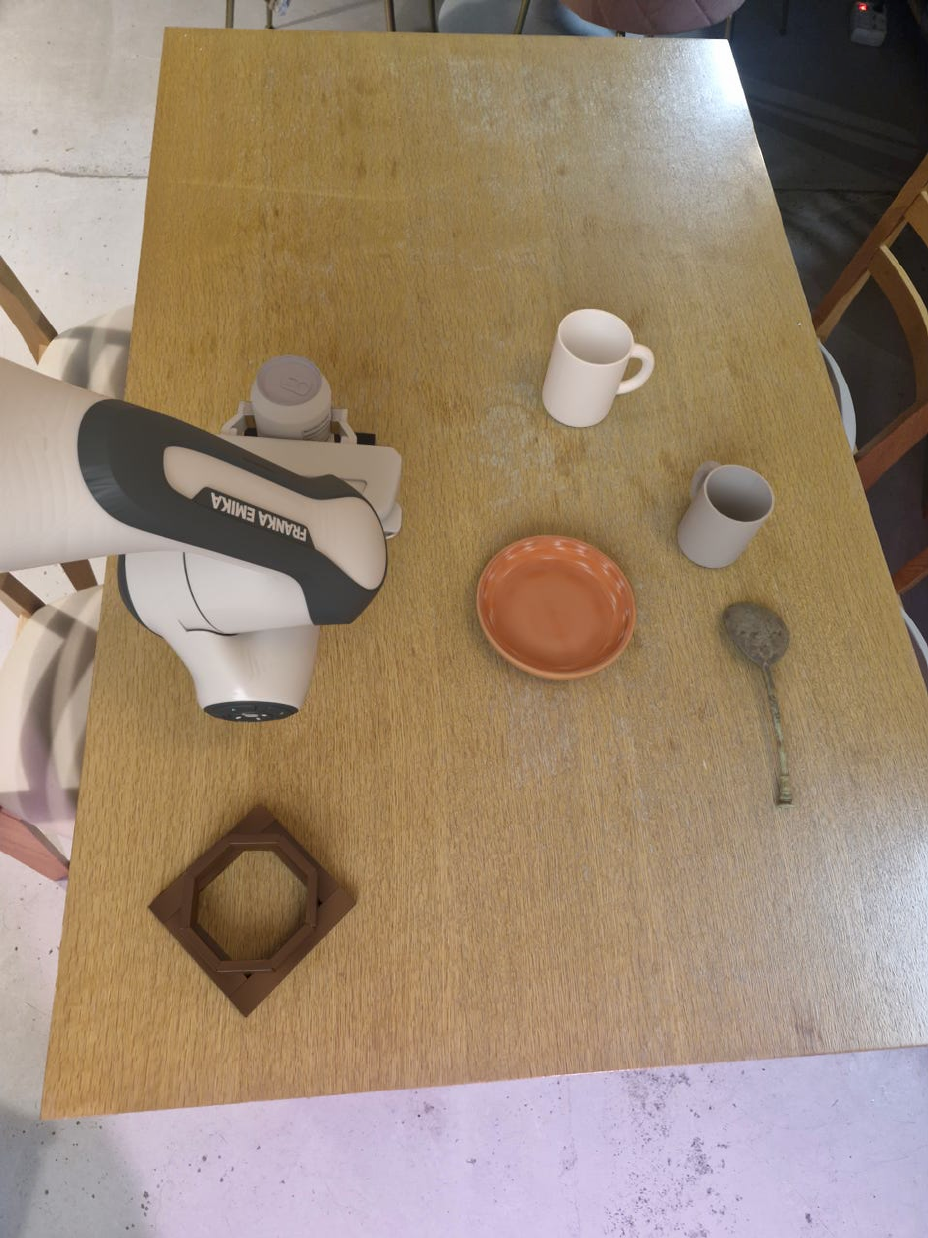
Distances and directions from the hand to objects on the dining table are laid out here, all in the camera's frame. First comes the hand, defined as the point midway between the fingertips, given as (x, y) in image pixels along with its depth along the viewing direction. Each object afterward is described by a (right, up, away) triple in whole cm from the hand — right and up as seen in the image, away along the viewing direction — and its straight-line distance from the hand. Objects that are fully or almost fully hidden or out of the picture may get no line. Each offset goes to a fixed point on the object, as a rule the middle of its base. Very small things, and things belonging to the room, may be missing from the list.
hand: (294, 409), depth 77 cm
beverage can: (-1, -4, +6) cm, 7 cm away
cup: (+41, -10, +16) cm, 45 cm away
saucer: (+24, -19, +9) cm, 32 cm away
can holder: (-2, -43, -6) cm, 44 cm away
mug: (+30, +6, +23) cm, 38 cm away
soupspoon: (+45, -27, +7) cm, 53 cm away
